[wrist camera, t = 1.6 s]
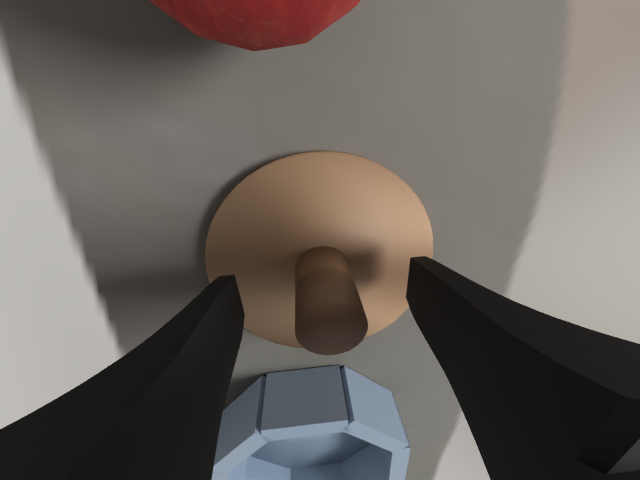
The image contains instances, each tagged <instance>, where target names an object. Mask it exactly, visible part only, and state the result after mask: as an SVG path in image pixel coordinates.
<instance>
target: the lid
mask: <svg viewBox="0 0 640 480" xmlns="http://www.w3.org/2000/svg"><path fill="white" fill-rule="evenodd" d="M420 256H426V257H429V258H431V259H432V256H433V235H432V230H431V225H430V221H429V218H428V216H427V213H426V211H425V208H424V207H423V205H422V203H421V202H420V200H419V198H418V197H417V196H416V194H415V193H414V192H413V191H412V190H411V188H410V187H409V186H408V185H407V184H406V183H405V182H404V181H402V180H401V179H400V178H399V177H398V176H397V175H395V174H394V173H392V172H391V171H389V170H388V169H386V168H384V167H383V166H381V165H380V164H378V163H375V162H373V161H371V160H369V159H366V158H364V157H360V156H357V155H353V154H349V153H343V152H335V151H311V152H304V153H297V154H293V155H290V156H286V157H283V158H280V159H277V160H275V161H273V162H271V163H268V164H266V165H264V166H262V167H261V168H259V169H257V170H256V171H254V172H253V173H251V174H249V175H248V176H247V177H246V178H245V179H244V180H242V181H241V182H240V183H239V184H238V185H237V186H236V187H235V188H234V189H233V190H232V191H231V192H230V194H229V195H228V196H227V197H226V198H225V200H224V201H223V203H222V204H221V206H220V207H219V209H218V210H217V212H216V214H215V216H214V218H213V220H212V223H211V225H210V227H209V231H208V235H207V239H206V246H205V266H206V272H207V276H208V280H209V283H210V284H211V283H212V282H213V281H214V280H215V279H216V278H217V277H219V276H225V275H235V278H236V282H237V286H238V289H239V293H240V297H241V301H242V305H243V309H244V313H245V318H244V326H243V327H244V328H245V329H247V330H248V331H250V332H252V333H254V334H255V335H257V336H259V337H262V338H264V339H266V340H268V341H271V342H274V343H278V344H281V345H286V346H290V347H297V348H305V349H306V350H308V351H310V352H313V353H316V354H320V355H335V354H340V353H344V352H346V351H349V350H351V349H352V348H354V347H355V346H357V345H358V344H359V343H360V342H361V341H362V340H363V339H364V338H366V337H369V336H371V335H373V334H375V333H377V332H378V331H380V330H382V329H384V328H385V327H387V326H388V325H389V324H391V323H392V322H394V321H395V320H396V319H397V318H398V317H399V316H400V315H402V314H403V313H404V312H405V311H406V310H407V308H408V307H409V305H408V302H407V299H406V291H407V282H408V273H409V265H410V257H420Z"/></svg>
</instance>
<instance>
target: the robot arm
mask: <svg viewBox="0 0 640 480" xmlns="http://www.w3.org/2000/svg"><path fill="white" fill-rule="evenodd" d="M406 299H407V302H408V305H409V307H410V310H411V312H412V314H413V317H414V319H415V321H416V323H417V325H418V327H419V328H420V330H421V332H422V334H423V335H424V337H425V339H426V341H427V342H428V344H429V346H430V348H431V349H432V351H433V353H434V355H435V356H436V358H437V360H438V362H439V363H440V365H441V367H442V369H443V370H444V372H445V374H446V376H447V378H448V380H449V382H450V384H451V386H452V388H453V391H454V393H455V395H456V397H457V400H458V402H459V404H460V406H461V408H462V411H463V413H464V415H465V418H466V420H467V422H468V424H469V427H470V429H471V432H472V434H473V437H474V439H475V441H476V444H477V446H478V449H479V451H480V454H481V456H482V459H483V461H484V464H485V467H486V469H487V472H488V474H489V477H490V479H491V480H640V344H637V343H634V342H630V341H627V340H623V339H620V338H617V337H613V336H610V335H606V334H603V333H599V332H597V331H593V330H590V329H587V328H584V327H581V326H578V325H575V324H572V323H569V322H566V321H564V320H561V319H557V318H555V317H552V316H550V315H547V314H544V313H542V312H539V311H536V310H534V309H532V308H529V307H527V306H524V305H522V304H519V303H517V302H514V301H512V300H510V299H508V298H506V297H504V296H502V295H499V294H497V293H495V292H493V291H491V290H489V289H487V288H485V287H483V286H481V285H479V284H477V283H475V282H473V281H471V280H469V279H468V278H466V277H464V276H462V275H460V274H458V273H457V272H455V271H453V270H451V269H449V268H448V267H446V266H444V265H442V264H440V263H438V262H436V261H435V260H433V259H431V258H429V257H426V256H420V257H410V265H409V273H408V282H407V291H406ZM244 318H245V313H244V309H243V305H242V301H241V297H240V293H239V289H238V286H237V282H236V278H235V275H225V276H219V277H217V278H216V279H215V280H214V281H213V282H212V283H211V284H209V285H208V286H207V287H206V288H205V289H204V290H203V291H202V292H201V293H200V294H199V295H198V296H197V297H196V298H195V299H194V300H192V301H191V302H190V303H189V304H188V305H187V306H186V307H185V308H184V309H183V310H182V311H180V312H179V313H178V314H177V315H176V316H175V317H173V318H172V319H171V320H170V321H169V322H168V323H166V324H165V325H164V326H163V327H162V328H160V329H159V330H158V331H157V332H156V333H154V334H153V335H152V336H151V337H149V338H148V339H147V340H145V341H144V342H143V343H141V344H140V345H139V346H137V347H136V348H134V349H133V350H132V351H130V352H129V353H128V354H126V355H125V356H123V357H122V358H120V359H119V360H117V361H116V362H114V363H113V364H112V365H110V366H108V367H107V368H106V369H104V370H102V371H101V372H99V373H98V374H96V375H94V376H93V377H91V378H90V379H88V380H87V381H86V382H84V383H82V384H80V385H79V386H77V387H75V388H74V389H72V390H70V391H69V392H67V393H65V394H64V395H62V396H60V397H59V398H57V399H55V400H53V401H52V402H50V403H48V404H46V405H45V406H43V407H41V408H39V409H37V410H36V411H34V412H32V413H30V414H28V415H27V416H25V417H23V418H21V419H19V420H17V421H16V422H14V423H12V424H10V425H8V426H6V427H4V428H3V429H0V480H212V473H213V467H214V461H215V454H216V448H217V441H218V435H219V430H220V424H221V418H222V412H223V407H224V403H225V399H226V394H227V391H228V387H229V383H230V380H231V376H232V372H233V369H234V365H235V362H236V358H237V354H238V350H239V347H240V343H241V339H242V333H243V326H244Z"/></svg>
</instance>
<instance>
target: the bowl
mask: <svg viewBox="0 0 640 480" xmlns="http://www.w3.org/2000/svg"><path fill="white" fill-rule="evenodd" d="M410 449H411V447H410V444H409V441H408V438H407V435H406V432H405V429H404V426H403V423H402V420H401V417H400V414H399V411H398V408H397V405H396V402H395V399H394V396H393V394H392V392H391V391H390V390H388V389H386V388H384V387H382V386H380V385H379V384H377V383H375V382H373V381H371V380H369V379H368V378H366V377H364V376H362V375H360V374H358V373H357V372H355V371H353V370H351V369H349V368H347V367H346V366H344V367H342V368H341V369H340V367H339V365H335V366H326V367H318V368H309V369H300V370H291V371H282V372H273V373H267V377H265V376H263V375H262V376H261V377H259V378H258V379H257V380H256V381H255V382H254V383H253V384H252V385H251V386H250V387H248V388H247V389H246V390H245V391H244V392H243V393H242V394H241V395H240V396H239V397H237V398H236V399H235V400H234V401H233V402H232V403H231V404H230V405H229V406H228V407H226V408H225V409H224V410H223V412H222V418H221V424H220V430H219V435H218V441H217V448H216V454H215V461H214V467H213V473H212V480H405V476H406V470H407V465H408V460H409V454H410Z"/></svg>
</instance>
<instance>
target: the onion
mask: <svg viewBox="0 0 640 480" xmlns="http://www.w3.org/2000/svg"><path fill="white" fill-rule="evenodd" d="M149 1H151V2H152V3H153V4H155V5H156V6H157V7H159V8H160V9H161V10H163V11H164V12H165V13H167V14H168V15H169V16H171V17H172V18H173V19H175V20H176V21H178V22H179V23H180V24H182V25H183V26H184V27H186V28H187V29H188V30H190V31H191V32H192V33H194V34H195V35H196V36H199V37H203V38H206V39H210V40H214V41H218V42H221V43H225V44H229V45H233V46H236V47H240V48H244V49H247V50H251V51H260V50H266V49H272V48H279V47H285V46H291V45H297V44H303V43H306V42H308V41H310V40H311V39H312V38H314V37H315V36H316V35H318V34H319V33H320V32H322V31H323V30H324V29H326V28H327V27H328V26H330V25H331V24H333V23H334V22H336V21H337V20H339V19H340V18H341V17H343V16H344V15H346V14H347V13H348V12H349V11H350V10H352V9H353V8H354V7H355V6H356V5H357V4H358V3H359V2H360V0H149Z"/></svg>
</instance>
